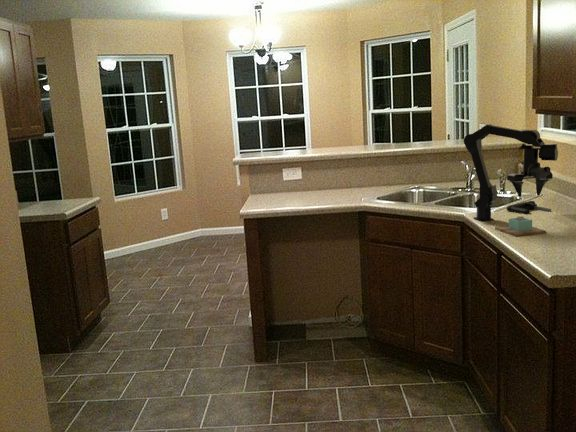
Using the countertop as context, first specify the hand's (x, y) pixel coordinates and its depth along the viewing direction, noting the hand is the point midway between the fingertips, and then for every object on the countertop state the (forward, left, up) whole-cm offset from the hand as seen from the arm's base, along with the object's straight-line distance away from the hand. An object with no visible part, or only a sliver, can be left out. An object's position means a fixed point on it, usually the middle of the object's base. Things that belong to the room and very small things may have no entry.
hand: (529, 196), depth 253 cm
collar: (+11, -12, -11) cm, 20 cm away
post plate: (+11, -12, -12) cm, 20 cm away
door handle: (-24, +20, -13) cm, 34 cm away
